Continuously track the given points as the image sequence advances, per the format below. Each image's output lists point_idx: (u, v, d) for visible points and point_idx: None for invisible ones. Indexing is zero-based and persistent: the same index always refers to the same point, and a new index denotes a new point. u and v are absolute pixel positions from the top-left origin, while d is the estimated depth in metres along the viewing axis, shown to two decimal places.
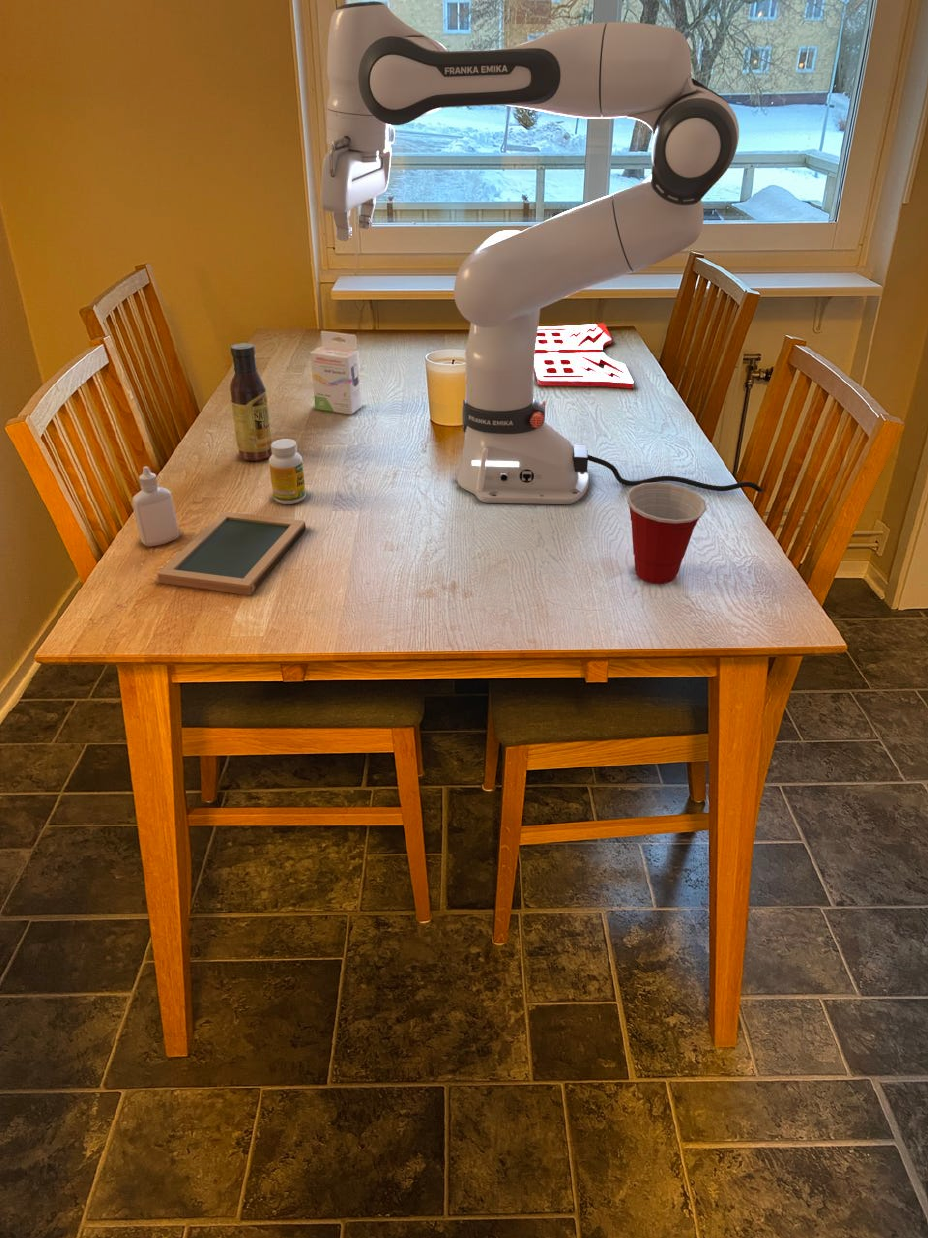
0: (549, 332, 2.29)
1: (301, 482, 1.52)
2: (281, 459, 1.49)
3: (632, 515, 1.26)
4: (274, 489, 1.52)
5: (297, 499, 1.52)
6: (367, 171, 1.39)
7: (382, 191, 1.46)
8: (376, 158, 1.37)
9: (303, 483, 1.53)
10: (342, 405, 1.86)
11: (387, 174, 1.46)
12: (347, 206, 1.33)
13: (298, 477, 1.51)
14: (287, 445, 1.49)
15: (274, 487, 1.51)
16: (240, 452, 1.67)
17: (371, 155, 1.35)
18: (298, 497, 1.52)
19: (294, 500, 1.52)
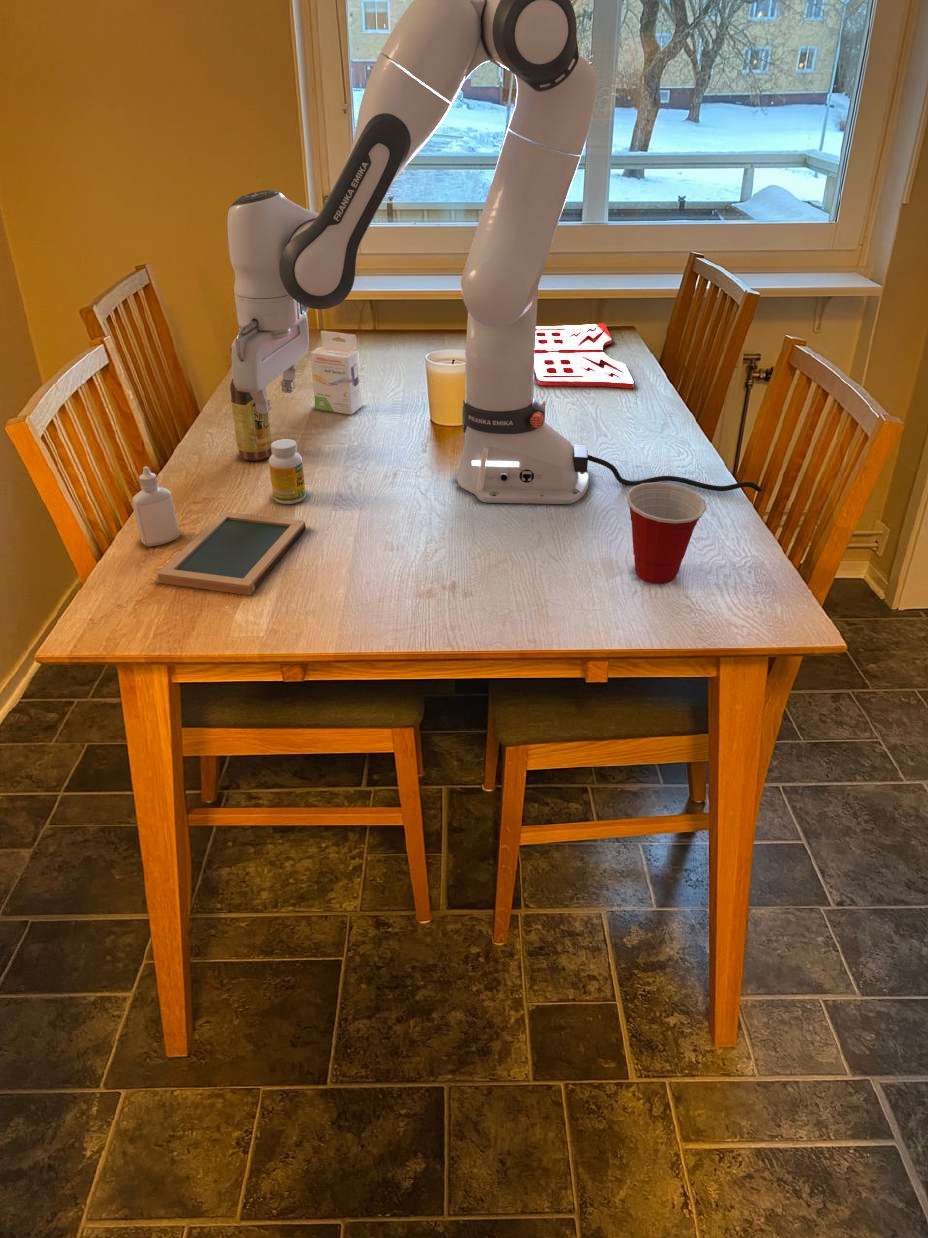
0: (549, 332, 2.29)
1: (301, 482, 1.52)
2: (281, 459, 1.49)
3: (632, 515, 1.26)
4: (274, 489, 1.52)
5: (297, 499, 1.52)
6: (281, 344, 1.41)
7: (302, 355, 1.48)
8: (288, 333, 1.39)
9: (303, 483, 1.53)
10: (342, 405, 1.86)
11: (306, 338, 1.48)
12: (260, 385, 1.35)
13: (298, 477, 1.51)
14: (287, 445, 1.49)
15: (274, 487, 1.51)
16: (240, 452, 1.67)
17: (282, 331, 1.37)
18: (298, 497, 1.52)
19: (294, 500, 1.52)
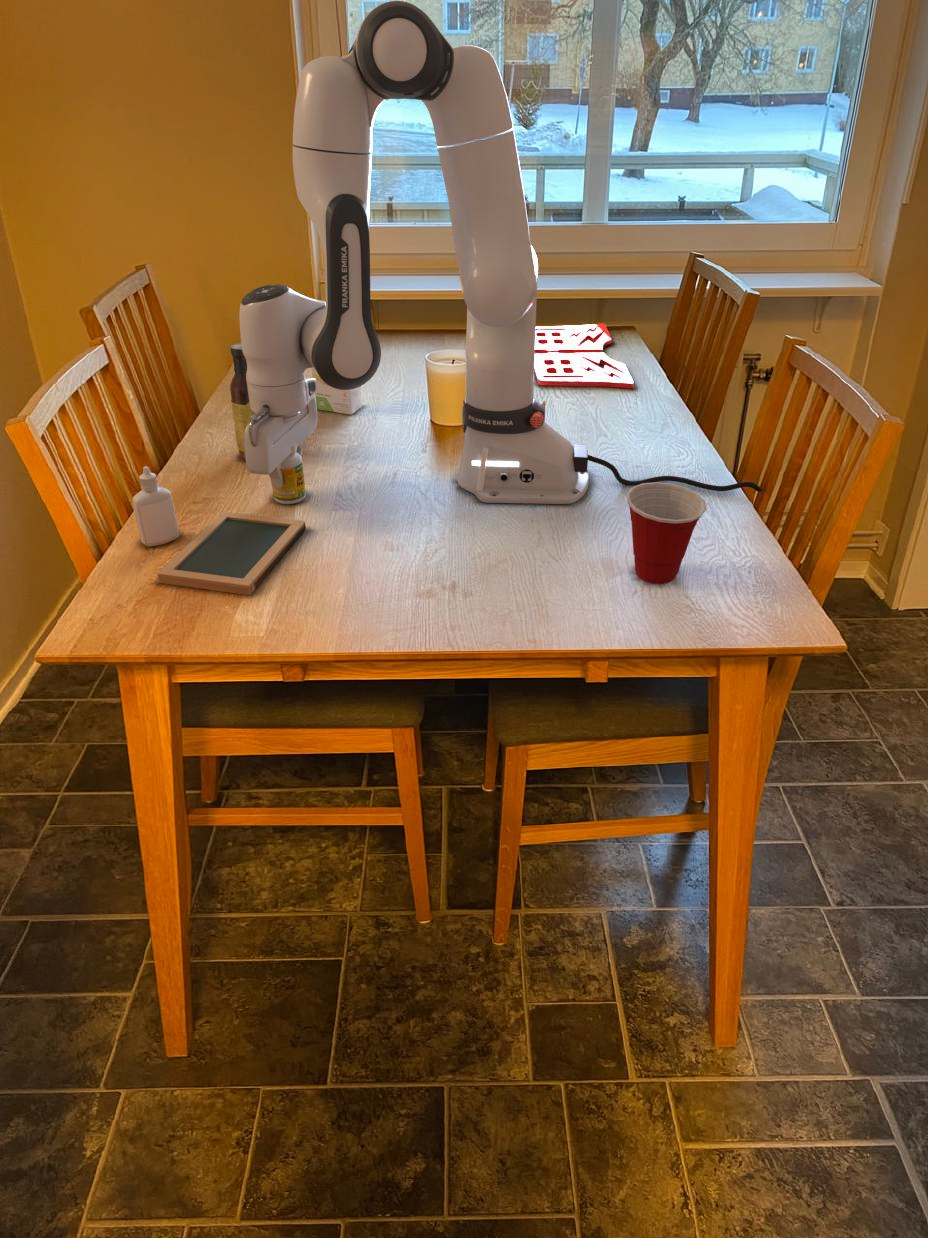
0: (549, 332, 2.29)
1: (301, 482, 1.52)
2: None
3: (632, 515, 1.26)
4: (274, 489, 1.52)
5: (297, 499, 1.52)
6: (291, 425, 1.48)
7: (311, 432, 1.55)
8: (297, 415, 1.46)
9: (303, 483, 1.52)
10: (342, 405, 1.86)
11: (315, 416, 1.55)
12: (271, 467, 1.42)
13: (298, 477, 1.51)
14: None
15: None
16: (240, 452, 1.67)
17: (292, 415, 1.45)
18: (298, 497, 1.52)
19: (294, 500, 1.52)
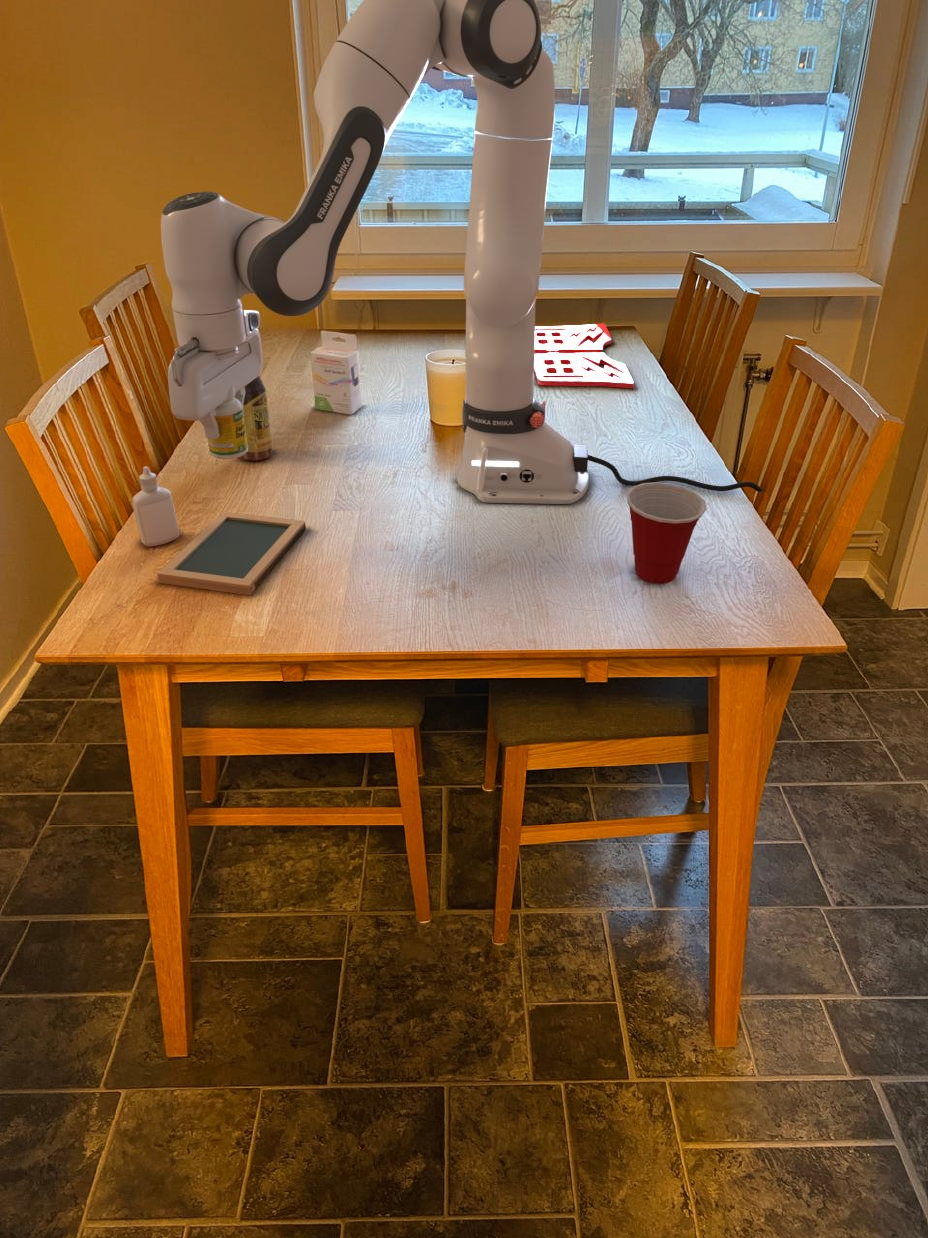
0: (549, 332, 2.29)
1: (241, 433, 1.30)
2: None
3: (632, 515, 1.26)
4: (209, 441, 1.30)
5: (236, 453, 1.30)
6: (228, 364, 1.26)
7: (255, 376, 1.33)
8: (234, 352, 1.23)
9: (244, 435, 1.30)
10: (342, 405, 1.86)
11: (259, 357, 1.33)
12: (202, 412, 1.20)
13: (236, 427, 1.28)
14: None
15: (210, 439, 1.29)
16: None
17: (227, 351, 1.22)
18: (238, 451, 1.30)
19: (232, 454, 1.30)
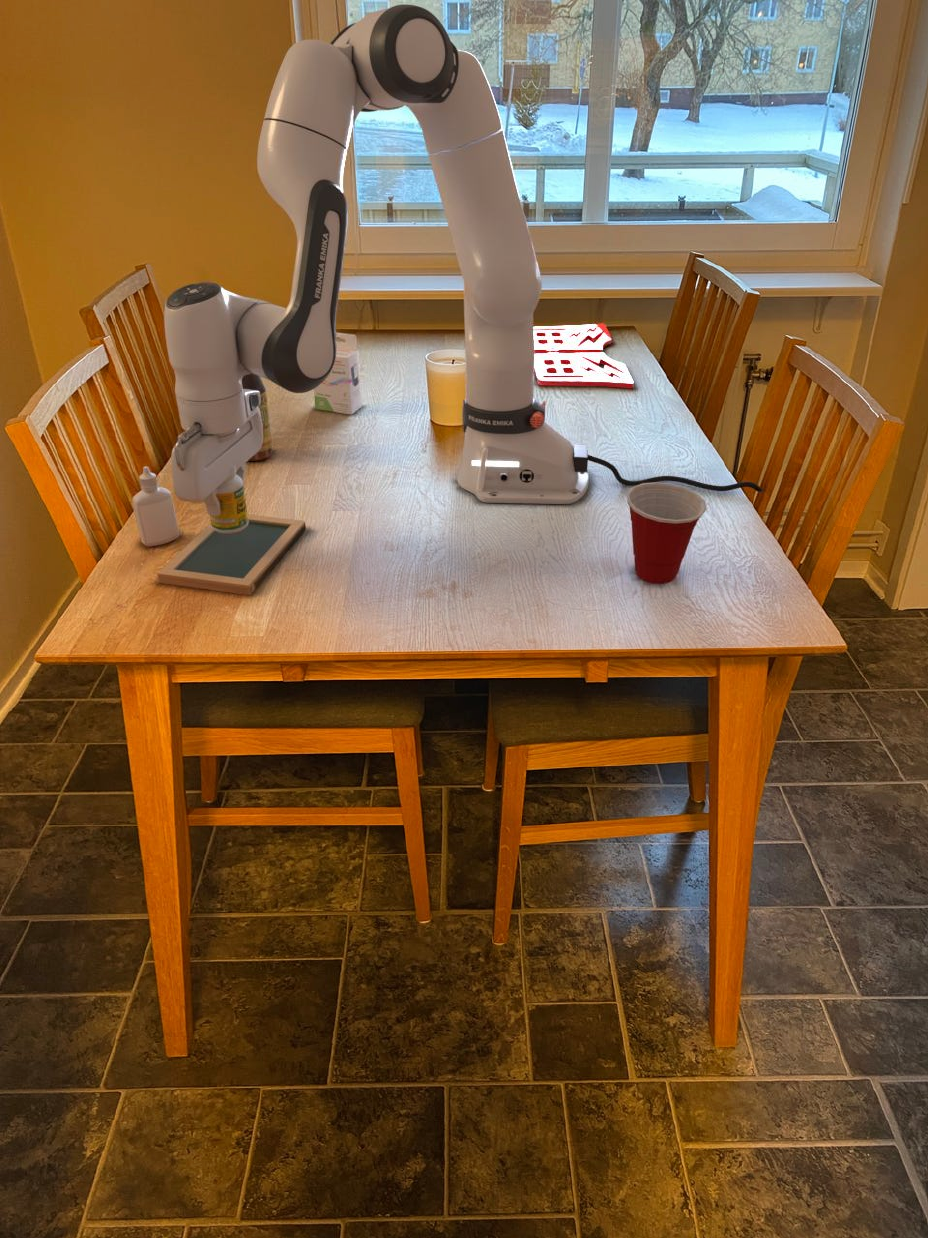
0: (549, 332, 2.29)
1: (242, 508, 1.33)
2: None
3: (632, 515, 1.26)
4: (211, 517, 1.33)
5: (237, 528, 1.34)
6: (230, 444, 1.29)
7: (256, 451, 1.37)
8: (236, 434, 1.27)
9: (244, 510, 1.34)
10: (342, 405, 1.86)
11: (260, 433, 1.36)
12: (204, 494, 1.23)
13: (237, 503, 1.32)
14: None
15: None
16: None
17: (229, 433, 1.26)
18: (239, 526, 1.34)
19: (234, 529, 1.33)
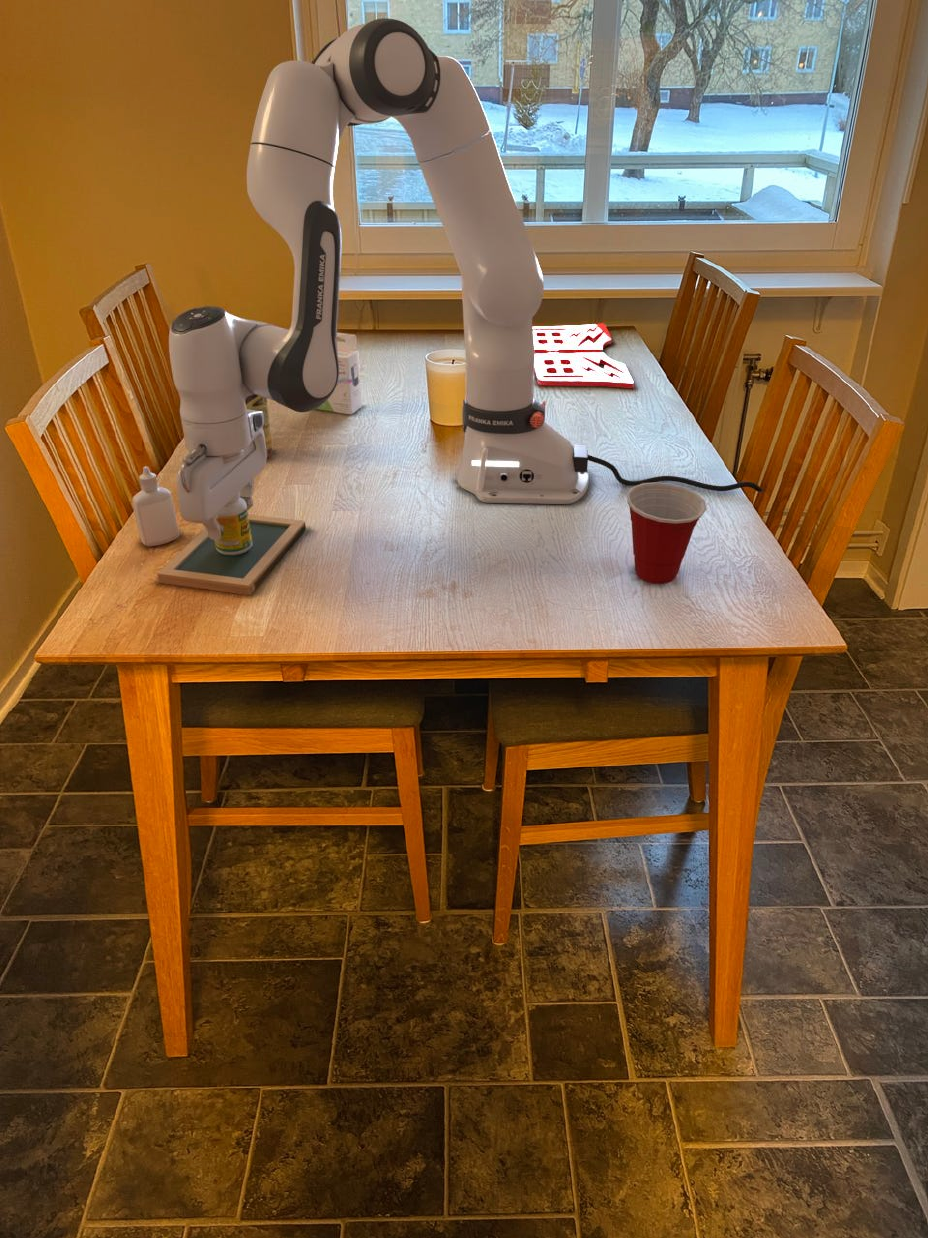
0: (549, 332, 2.29)
1: (246, 530, 1.35)
2: None
3: (632, 515, 1.26)
4: None
5: (241, 550, 1.36)
6: (234, 465, 1.31)
7: (259, 470, 1.38)
8: (240, 454, 1.28)
9: (248, 532, 1.36)
10: (342, 405, 1.86)
11: (263, 452, 1.38)
12: (209, 515, 1.25)
13: (241, 525, 1.34)
14: None
15: None
16: None
17: (233, 454, 1.27)
18: (243, 548, 1.36)
19: (238, 551, 1.35)
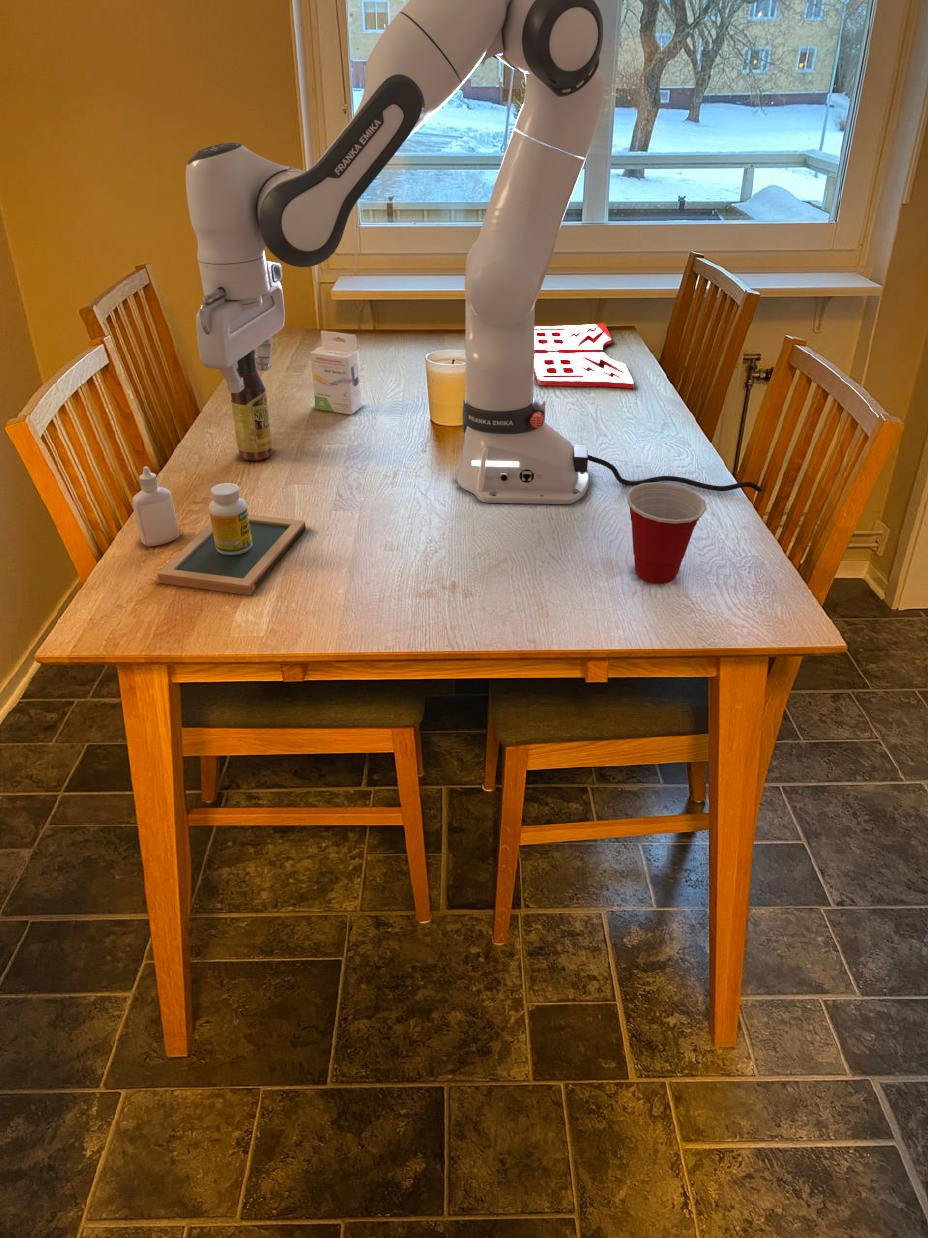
0: (549, 332, 2.29)
1: (246, 530, 1.35)
2: (222, 507, 1.32)
3: (632, 515, 1.26)
4: (215, 539, 1.35)
5: (241, 550, 1.36)
6: (253, 315, 1.28)
7: (278, 329, 1.36)
8: (259, 302, 1.26)
9: (248, 532, 1.36)
10: (342, 405, 1.86)
11: (282, 310, 1.35)
12: (229, 360, 1.22)
13: (241, 525, 1.34)
14: (229, 491, 1.32)
15: (216, 537, 1.35)
16: (240, 452, 1.67)
17: (252, 301, 1.25)
18: (243, 548, 1.36)
19: (238, 551, 1.35)
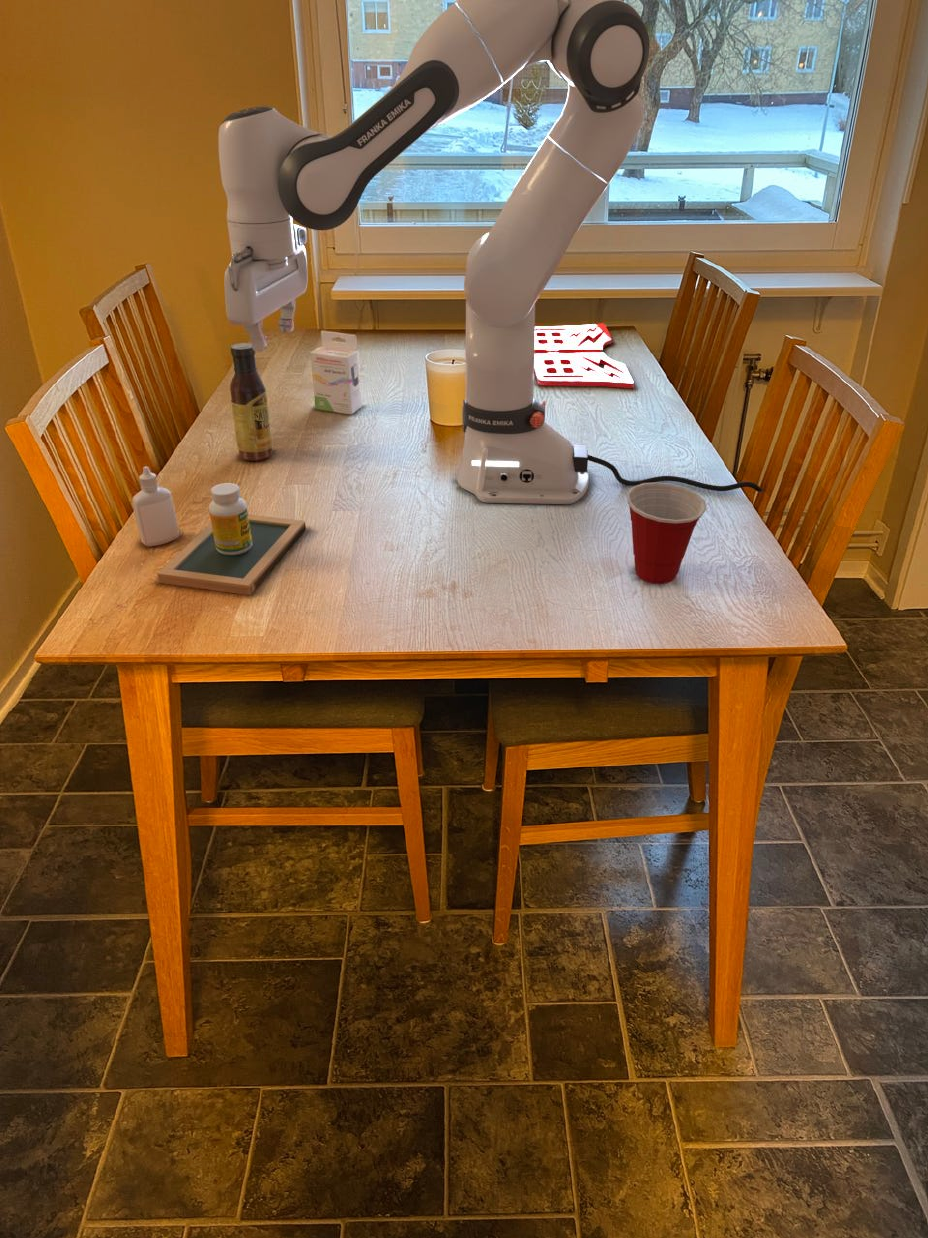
0: (549, 332, 2.29)
1: (246, 530, 1.35)
2: (222, 507, 1.32)
3: (632, 515, 1.26)
4: (215, 539, 1.35)
5: (241, 550, 1.36)
6: (278, 276, 1.32)
7: (301, 292, 1.40)
8: (285, 263, 1.30)
9: (248, 532, 1.36)
10: (342, 405, 1.86)
11: (305, 274, 1.39)
12: (255, 318, 1.26)
13: (241, 525, 1.34)
14: (229, 491, 1.32)
15: (216, 537, 1.35)
16: (240, 452, 1.67)
17: (278, 261, 1.29)
18: (243, 548, 1.36)
19: (238, 551, 1.35)
